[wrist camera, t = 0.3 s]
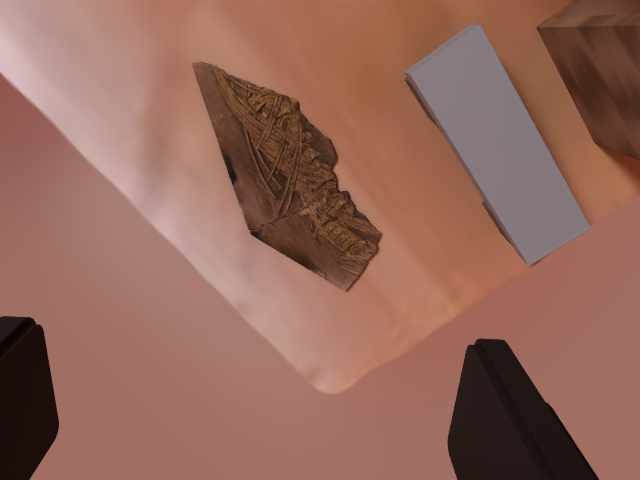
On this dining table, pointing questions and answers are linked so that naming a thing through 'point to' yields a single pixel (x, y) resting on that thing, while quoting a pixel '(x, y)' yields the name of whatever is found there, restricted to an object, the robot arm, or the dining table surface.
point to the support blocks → (435, 122)
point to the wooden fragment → (286, 178)
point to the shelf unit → (601, 67)
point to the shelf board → (498, 143)
